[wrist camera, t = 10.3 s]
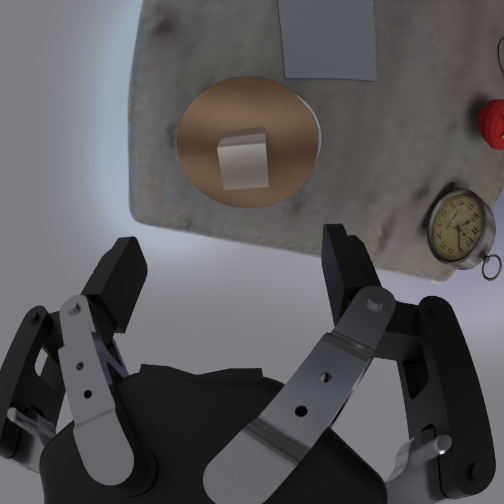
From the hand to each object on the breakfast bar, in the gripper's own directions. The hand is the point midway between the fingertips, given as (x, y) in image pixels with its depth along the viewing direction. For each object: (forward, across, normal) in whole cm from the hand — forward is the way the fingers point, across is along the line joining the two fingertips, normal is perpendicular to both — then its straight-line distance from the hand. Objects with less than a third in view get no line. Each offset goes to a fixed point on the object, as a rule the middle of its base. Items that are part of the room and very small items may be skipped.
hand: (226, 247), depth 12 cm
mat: (+25, -10, -10) cm, 29 cm away
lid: (+15, 0, 0) cm, 15 cm away
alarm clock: (+25, -29, +13) cm, 41 cm away
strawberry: (+25, -33, -3) cm, 42 cm away
